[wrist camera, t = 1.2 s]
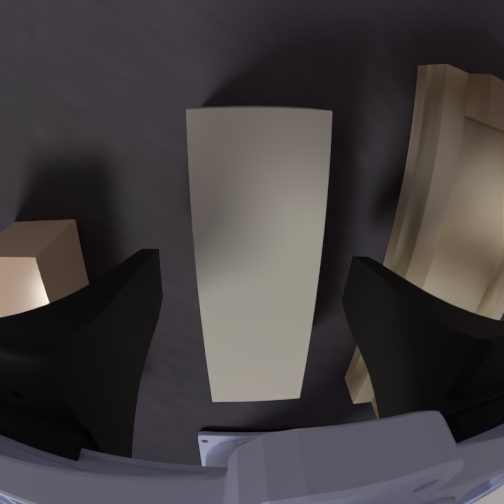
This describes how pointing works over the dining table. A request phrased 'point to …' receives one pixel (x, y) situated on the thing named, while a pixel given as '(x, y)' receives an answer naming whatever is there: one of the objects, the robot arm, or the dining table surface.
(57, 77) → the dining table surface
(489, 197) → the wooden tray
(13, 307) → the fired bar
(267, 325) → the clay bar
